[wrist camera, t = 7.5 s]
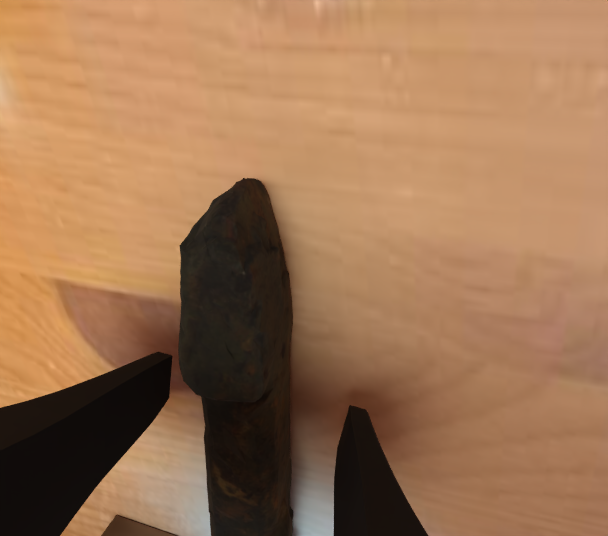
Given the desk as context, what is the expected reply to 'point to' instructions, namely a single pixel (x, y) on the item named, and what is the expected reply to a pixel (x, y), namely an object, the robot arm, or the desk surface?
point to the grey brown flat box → (131, 529)
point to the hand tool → (240, 359)
